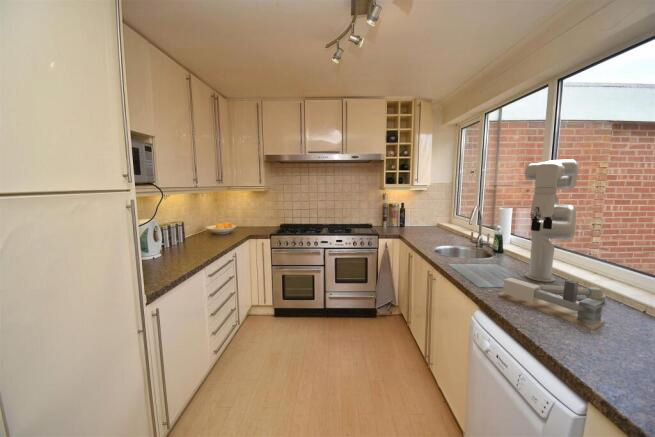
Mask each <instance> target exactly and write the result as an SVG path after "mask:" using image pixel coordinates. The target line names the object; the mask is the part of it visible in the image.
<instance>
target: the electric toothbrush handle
mask: <svg viewBox="0 0 655 437" xmlns="http://www.w3.org/2000/svg"><path fill="white" fill-rule="evenodd" d="M537 285H538V286H541V287H540V290H543V291H546V292H550V293H553V294H556V295H563V293H564V285H553V284H552V285H550V284H542V283H540V284H537ZM577 296H585V298H590V299H594V300H597V301H601V302H603V304H604V303H605V302H606V298H607V296H606V295H605V294H603V290H602V288H600V287H596V286H591V287H578V292H577Z"/></svg>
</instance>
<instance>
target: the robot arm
mask: <svg viewBox="0 0 655 437" xmlns="http://www.w3.org/2000/svg"><path fill="white" fill-rule="evenodd" d="M578 173H579V164H578V162H577V161H576V159H553V160H552V159H551V160H548V161H541V162H537V163H536V162H535V163H528V165H526V167H525V169H524V176H525V179H526V180H528V181H534V192H533V193H534V194H533V197H532V201H531V208H530V219H531V220H530V221H531V225H530V232H531V234H530V235H531V248H530V258H529V267H528V268H529V269H528V271H527V272H525V274H524V276H525V277H526V278H528V279H531V280H533V281H537V282H543V283H544V282H545V283H553V282H555V281H556V278H555V276H553V273H554V272H555V270H554V269H553V264H554V254H555V245H554V244H553V243H552V242H551V240H562V241H572V239H574V237H575V234H576V224H577V209H576V208H575V207H576V206H574V205H572V204H566V203H565V204H563V203H561V204H560V203H559V197H558V196H557V190H563V191H565V190H572V189H574V188H575V187H576V186H577V182H578ZM550 239H551V240H550Z"/></svg>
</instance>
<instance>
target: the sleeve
mask: <svg viewBox="0 0 655 437" xmlns="http://www.w3.org/2000/svg"><path fill="white" fill-rule="evenodd" d="M538 285H539V284H535V283H531V282H527V281H524V280H520V279H518V278H513V277H507V278H504V279H503V289H502V292H503V293H504V294H507V295H510V296H512V297H515V298H518V299H521V300H524V301H527V302H529V303H535V302H538V301H539V299H538V298H535V297H534V292H535V290H536V289H540V287H541V286H538Z"/></svg>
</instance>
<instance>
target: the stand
mask: <svg viewBox="0 0 655 437" xmlns="http://www.w3.org/2000/svg"><path fill="white" fill-rule="evenodd" d="M497 296H498V297H502V298H505V299H508V300H510V301H513V302H515V303H519V304H521V305H524V306H527V307H530V308H532V309H535V310H538V311H540V312H543V313H546V314H549V315H551V316H554V317H557V318H559V319H561V320H565V321H568V322H570V323H573V324H576V325H578V326H581V327H584V328H587V329H589V330H592V331H594V330H595V329H597V328H599V327H601V326H603V325H604V324H605V320H602V313H603V306H604V303H603V302H601V301H597V300H594V299H590V298H587V297H585V298H584V299H582V300H580V301H579V300H578V301H579V307H578V312H577V311H574V310H571V309H568V308H565V307H562V306H559V305H556V304H553V303H550V302H547V301H544V300H541V299H539V301H538V302H535V303H529V302H527V301H524V300H521V299H518V298H515V297H512V296H510V295H507V294H504V293H503V291H501V292H498V293H497Z"/></svg>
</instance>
